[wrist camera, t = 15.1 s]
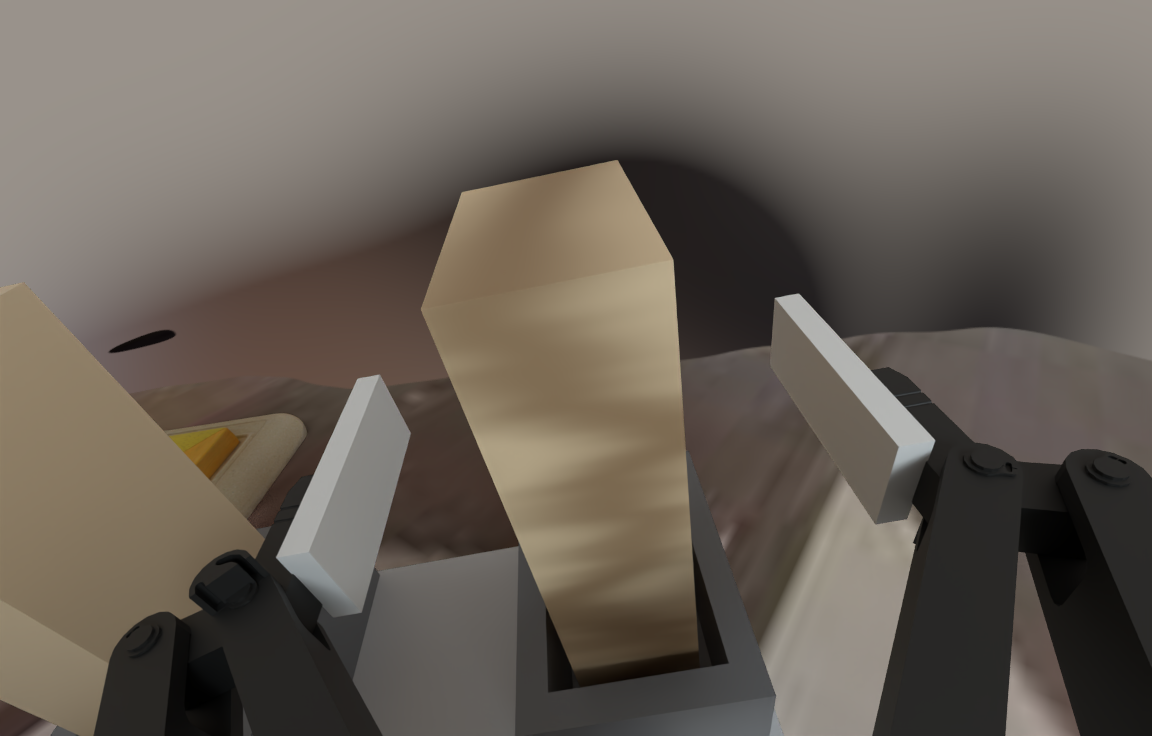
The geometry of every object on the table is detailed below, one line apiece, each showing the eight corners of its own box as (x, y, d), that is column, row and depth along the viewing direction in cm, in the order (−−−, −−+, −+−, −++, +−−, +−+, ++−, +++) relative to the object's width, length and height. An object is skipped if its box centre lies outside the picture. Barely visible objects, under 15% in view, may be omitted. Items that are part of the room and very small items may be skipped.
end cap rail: (111, 871, 18) (-862, 624, 7) (239, 607, 26) (-123, 294, 15) (789, 768, 17) (914, 284, 6) (706, 525, 25) (693, 123, 14)
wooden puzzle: (119, 443, 42) (88, 413, 40) (318, 429, 38) (295, 395, 36) (-131, 669, 28) (-200, 640, 26) (143, 679, 25) (90, 646, 23)
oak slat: (595, 723, 18) (421, 309, 8) (581, 574, 23) (462, 192, 13) (702, 707, 18) (673, 259, 8) (666, 560, 23) (617, 159, 12)
